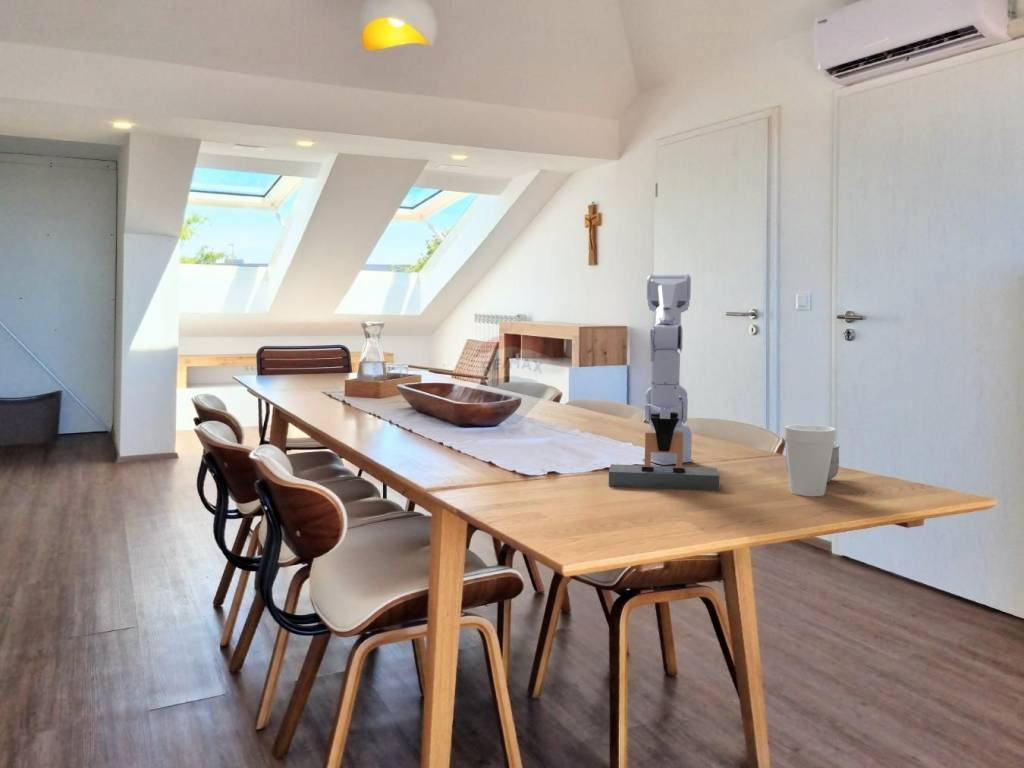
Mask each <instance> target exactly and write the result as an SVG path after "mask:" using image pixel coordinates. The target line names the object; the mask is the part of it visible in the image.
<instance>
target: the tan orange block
mask: <svg viewBox="0 0 1024 768" xmlns="http://www.w3.org/2000/svg"><path fill="white" fill-rule="evenodd" d="M644 433H645V435H644V438H645V439H644V441H645V442H644V458H645V460H644V466H645V467H651V466H652V465H651V464H652V462H651V452H656V453H676V464H675V467H676V468H682V467H684V466H683V431H674V432H673V436H672V441H671V446H670V450H669V451H659V450H658V445H657V438H656V432H655V430H651V429H645V432H644Z"/></svg>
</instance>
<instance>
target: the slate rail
mask: <svg viewBox="0 0 1024 768" xmlns="http://www.w3.org/2000/svg"><path fill="white" fill-rule="evenodd" d="M609 466H610V467H609V471H608V487H624V488H645V489H646V488H647V489H671V490H672V489H673V490H675V489H676V490H694V491H695V490H696V491H699V490H700V491H716V492H717V491H720V473H719V471H718V468H716V467H699V466H698V467H695V466H694V467H692V466H691V467H690V466H683V467H682V468H676V466H669V465H667V466H666V465H651V467H645V464H643V465H642V464H641V465H638V464H637V465H636V464H616V463H615V464H613V463H612V464H610V465H609Z"/></svg>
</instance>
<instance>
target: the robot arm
mask: <svg viewBox="0 0 1024 768" xmlns="http://www.w3.org/2000/svg"><path fill="white" fill-rule="evenodd" d="M691 279H692V277H691V275H690V274H649V275H648V276H647V280H646V300H647V306H648V307H649V308H648V310H649V311H652V312H653V320H652V327H650V329H649V351H650V362H651V364H650V365H651V366H650V367H651V369H650V370H651V373H650V376H651V377H650V387H649V388H647V390H646V394H645V401H644V402H645V404H644V419H645V421H646V422H647V423H649V425H650V430H655V432H656V438H657V445H658V450H659V451H669V450H670V446H671V441H672V436H673V432H674V431H683V463H691V462H692V463H693V462H694V459H693V458H692V444H693V443H692V442H693V441H692V439H693V438H692V437H693V436H692V431H691V429H690V426H688V425H687V424H686V423H687V422H688V408H689V407H688V406H689V405H688V402H689V399H688V392H687V390H686V389H685V388H684V387H683V386H682V385H680V378H681V377H680V371H681V354H682V351H683V339H684V337H683V336H684V335H683V334H684V330H683V327H682V326H683V325H682V313H685V312H686V311H688V310H689V307H690V300H691V286H692V285H691V284H692V283H691V282H692V280H691ZM678 350H679V351H678ZM641 460H643V461H645V457H641ZM651 463H653V464H658V465H660V466H666V465H667V466H669V465H676V453H656V452H651Z"/></svg>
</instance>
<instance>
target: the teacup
mask: <svg viewBox="0 0 1024 768" xmlns="http://www.w3.org/2000/svg"><path fill="white" fill-rule="evenodd" d="M784 448H785V449H786V444H785V445H784ZM840 448H841V446H840V445H839V444H837V443H834V445H833V450H832V456H831V461H830V467H829V472H828V478H827V483H829V482H830V481H831V480H832V479H833V478H835V477H836V476H837V475H838V472H839V467H840V451H839V450H840ZM785 466H786V471H787V473H788V474H789V471H788V461H787V451H786V450H785Z"/></svg>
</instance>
